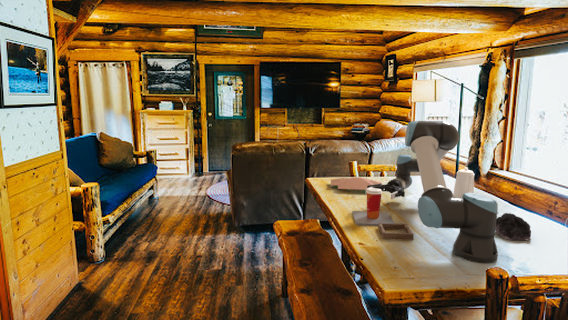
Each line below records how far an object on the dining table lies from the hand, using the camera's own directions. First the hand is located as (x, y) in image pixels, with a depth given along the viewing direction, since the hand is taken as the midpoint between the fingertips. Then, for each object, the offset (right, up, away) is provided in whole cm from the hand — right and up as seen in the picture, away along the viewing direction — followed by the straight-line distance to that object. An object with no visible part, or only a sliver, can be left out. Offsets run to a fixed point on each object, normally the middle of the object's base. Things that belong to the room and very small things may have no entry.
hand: (378, 194), depth 176 cm
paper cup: (-4, -11, -3) cm, 12 cm away
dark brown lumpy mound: (+52, -16, -23) cm, 59 cm away
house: (0, -2, +52) cm, 53 cm away
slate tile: (-4, -12, -3) cm, 13 cm away
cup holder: (+2, -15, -21) cm, 26 cm away
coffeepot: (+58, -6, +30) cm, 65 cm away
